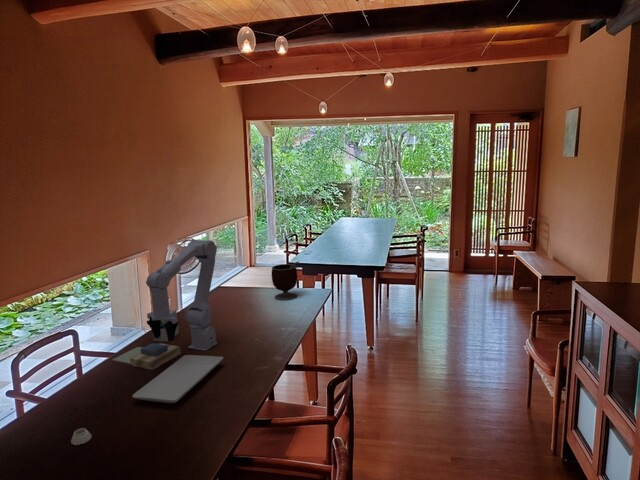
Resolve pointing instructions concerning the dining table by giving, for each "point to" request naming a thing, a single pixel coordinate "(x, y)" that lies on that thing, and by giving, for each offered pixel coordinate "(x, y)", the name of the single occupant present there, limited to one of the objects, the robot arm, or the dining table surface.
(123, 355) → the mat
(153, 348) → the blue-grey flat block
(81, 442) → the lidless jar
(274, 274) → the mate gourd
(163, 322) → the light bulb box
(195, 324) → the robot arm
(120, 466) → the dining table surface
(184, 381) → the tray
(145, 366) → the deck
